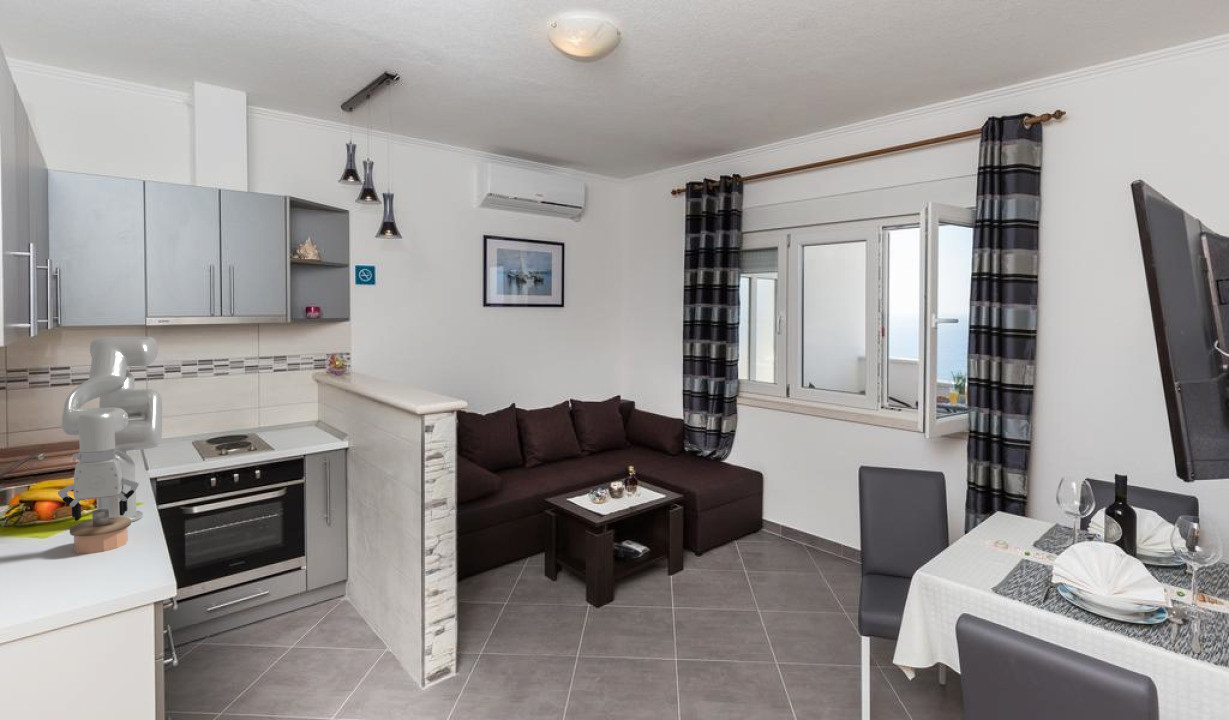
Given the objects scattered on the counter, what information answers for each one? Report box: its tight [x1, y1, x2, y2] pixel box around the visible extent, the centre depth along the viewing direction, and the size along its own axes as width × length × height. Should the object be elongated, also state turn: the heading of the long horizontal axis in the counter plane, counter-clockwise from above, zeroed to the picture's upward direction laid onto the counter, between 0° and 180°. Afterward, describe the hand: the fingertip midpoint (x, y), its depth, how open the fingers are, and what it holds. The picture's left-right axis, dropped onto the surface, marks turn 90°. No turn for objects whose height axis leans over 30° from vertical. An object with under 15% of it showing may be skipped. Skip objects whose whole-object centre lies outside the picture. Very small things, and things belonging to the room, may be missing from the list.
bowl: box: [73, 527, 129, 554], centre depth 169 cm, size 11×11×5 cm
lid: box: [69, 509, 132, 537], centre depth 168 cm, size 13×13×5 cm
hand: (100, 516), depth 168 cm, fingers open, 9 cm apart
